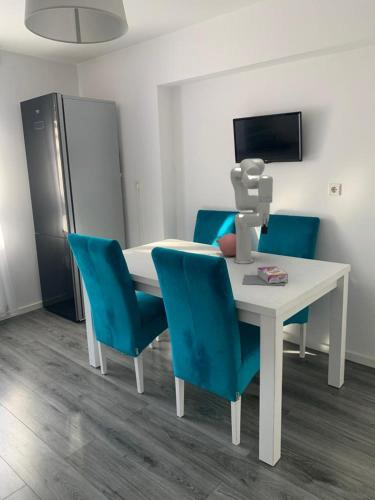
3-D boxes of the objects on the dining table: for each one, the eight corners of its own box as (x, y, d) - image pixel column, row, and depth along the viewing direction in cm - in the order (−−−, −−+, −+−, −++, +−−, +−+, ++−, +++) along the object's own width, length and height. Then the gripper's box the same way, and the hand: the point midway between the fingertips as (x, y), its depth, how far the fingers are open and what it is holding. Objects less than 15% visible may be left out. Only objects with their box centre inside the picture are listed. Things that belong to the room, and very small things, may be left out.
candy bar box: (275, 265, 228) (288, 273, 212) (275, 274, 229) (287, 282, 214) (256, 267, 226) (268, 275, 210) (256, 275, 227) (268, 284, 211)
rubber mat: (244, 275, 230) (244, 274, 230) (284, 276, 225) (284, 276, 225) (242, 284, 213) (242, 283, 213) (284, 286, 209) (284, 285, 209)
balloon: (223, 251, 290) (223, 230, 287) (246, 255, 276) (246, 233, 273) (209, 255, 280) (209, 233, 276) (232, 259, 266) (232, 236, 262)
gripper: (258, 198, 222) (258, 231, 226) (257, 201, 207) (256, 236, 212) (272, 198, 220) (271, 231, 224) (272, 201, 206) (271, 236, 210)
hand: (264, 233), depth 218 cm, fingers closed
